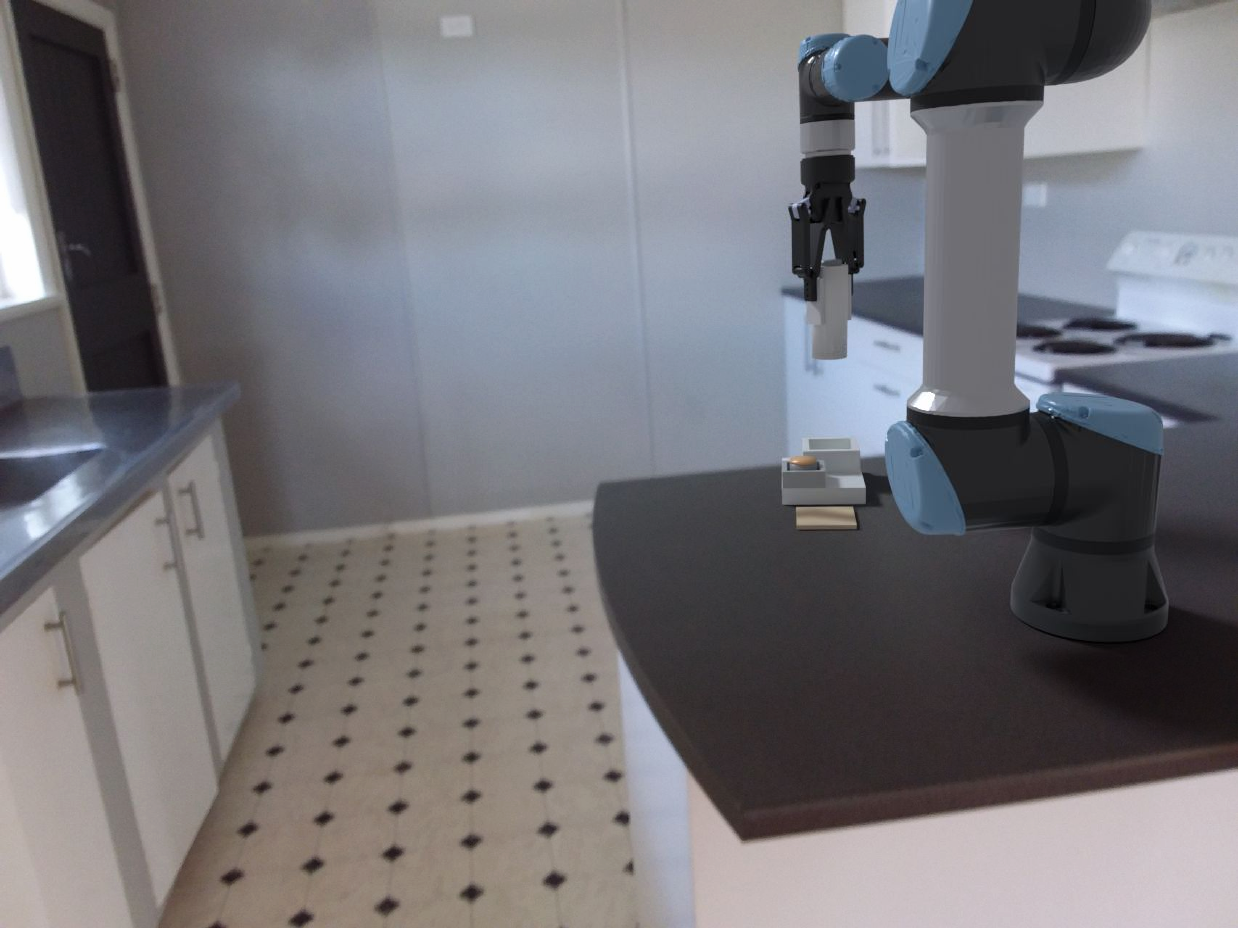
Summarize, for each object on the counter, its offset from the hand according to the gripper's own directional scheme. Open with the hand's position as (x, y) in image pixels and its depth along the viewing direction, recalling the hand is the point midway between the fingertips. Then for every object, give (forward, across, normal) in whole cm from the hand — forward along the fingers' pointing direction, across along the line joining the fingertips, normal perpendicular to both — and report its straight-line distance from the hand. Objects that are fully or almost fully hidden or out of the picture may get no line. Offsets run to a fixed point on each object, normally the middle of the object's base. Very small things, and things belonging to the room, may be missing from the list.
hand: (829, 321), depth 146 cm
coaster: (+26, +10, +8) cm, 29 cm away
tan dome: (+23, +5, -1) cm, 23 cm away
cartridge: (+5, 0, 0) cm, 5 cm away
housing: (+26, -1, -3) cm, 26 cm away
